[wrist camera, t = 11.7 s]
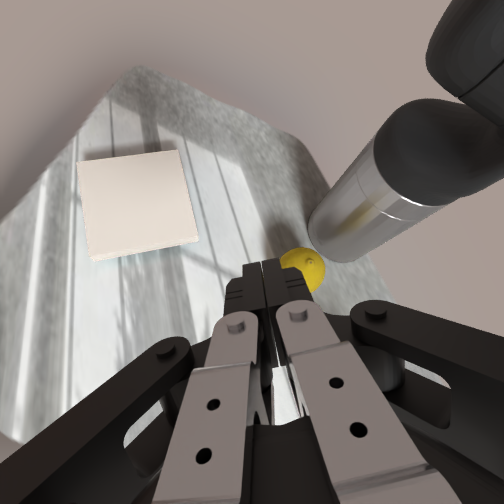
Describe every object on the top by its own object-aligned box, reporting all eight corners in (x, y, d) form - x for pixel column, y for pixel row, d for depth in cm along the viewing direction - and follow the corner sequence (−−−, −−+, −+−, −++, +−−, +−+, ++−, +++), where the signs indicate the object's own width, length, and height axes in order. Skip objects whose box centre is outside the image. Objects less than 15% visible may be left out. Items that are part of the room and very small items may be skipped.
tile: (198, 242, 39) (179, 160, 42) (198, 235, 37) (178, 149, 40) (95, 262, 37) (83, 173, 40) (89, 256, 34) (76, 162, 37)
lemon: (283, 251, 42) (303, 228, 35) (317, 275, 42) (344, 258, 34) (261, 283, 40) (276, 267, 33) (296, 309, 40) (319, 298, 32)
